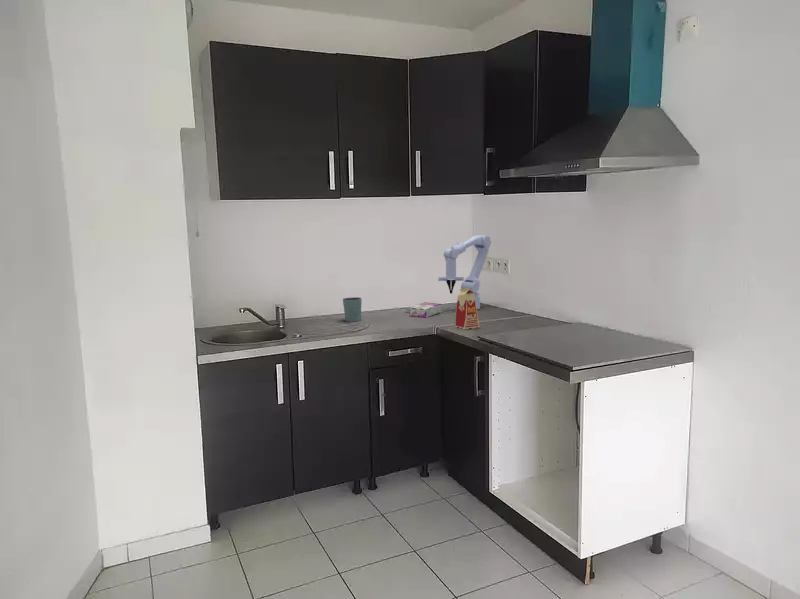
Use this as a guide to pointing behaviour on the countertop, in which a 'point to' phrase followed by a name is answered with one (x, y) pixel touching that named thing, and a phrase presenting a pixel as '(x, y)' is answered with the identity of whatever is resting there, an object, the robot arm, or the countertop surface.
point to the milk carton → (466, 310)
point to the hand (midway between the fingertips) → (451, 293)
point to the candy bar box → (425, 309)
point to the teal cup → (352, 309)
